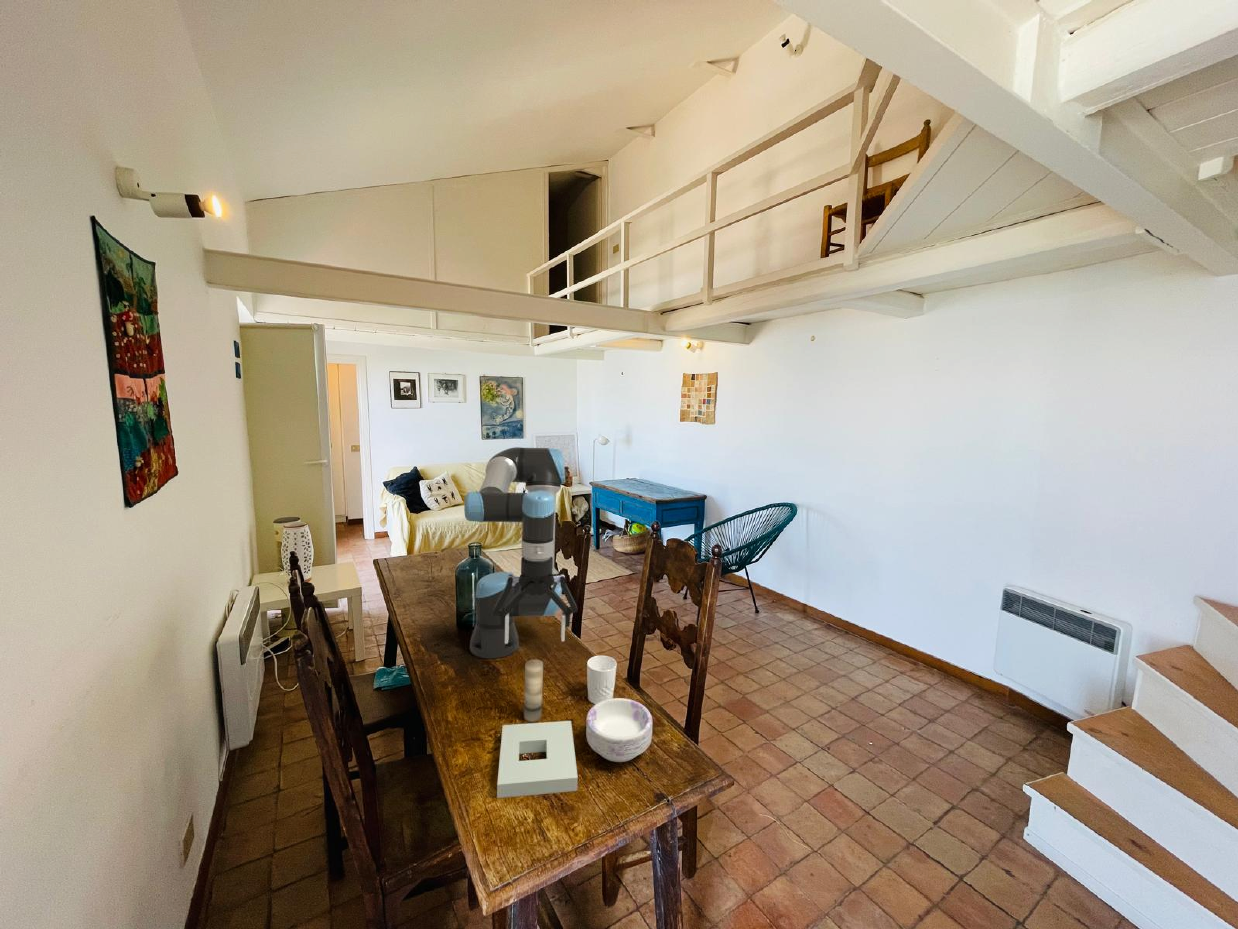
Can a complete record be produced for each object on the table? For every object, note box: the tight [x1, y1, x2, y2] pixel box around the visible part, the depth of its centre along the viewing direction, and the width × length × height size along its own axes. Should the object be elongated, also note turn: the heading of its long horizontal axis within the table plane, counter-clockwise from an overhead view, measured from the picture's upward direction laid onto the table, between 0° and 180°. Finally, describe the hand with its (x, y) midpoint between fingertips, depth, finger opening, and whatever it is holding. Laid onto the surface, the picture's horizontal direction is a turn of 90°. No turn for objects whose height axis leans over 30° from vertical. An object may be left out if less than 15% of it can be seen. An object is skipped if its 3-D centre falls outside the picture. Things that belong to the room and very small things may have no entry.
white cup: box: [586, 655, 618, 705], centre depth 132 cm, size 8×8×10 cm
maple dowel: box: [523, 659, 544, 723], centre depth 123 cm, size 5×5×14 cm
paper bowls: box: [585, 697, 653, 763], centre depth 114 cm, size 15×15×8 cm
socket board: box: [496, 720, 578, 799], centre depth 108 cm, size 18×16×3 cm
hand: (534, 640), depth 121 cm, fingers open, 13 cm apart
